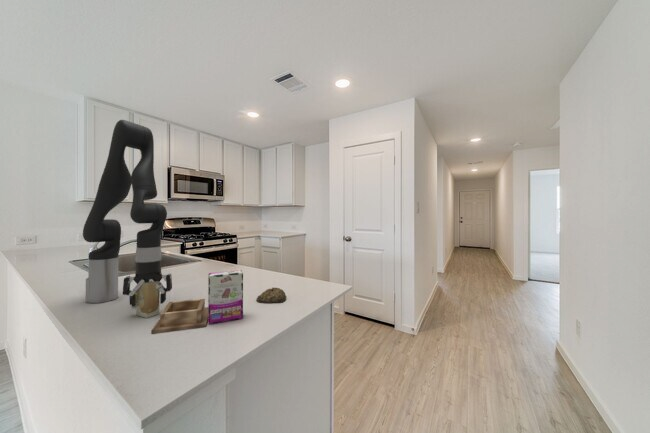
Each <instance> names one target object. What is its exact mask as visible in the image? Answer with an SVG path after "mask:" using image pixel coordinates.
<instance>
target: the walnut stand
mask: <svg viewBox="0 0 650 433" xmlns="http://www.w3.org/2000/svg"><path fill="white" fill-rule="evenodd" d="M205 299H206V298H197V299H188V300H187V299H186V300H176V301H175V300H174V301H169V302H168V303H167V305H166V306H165V307H164V308H163V309H162V311H161V313H159V319H158V320H157V322H156V323H155V325H154V326H153V328H152V329H151V332H150V333H151V334H152V335H153V334H154V335H155V334H161V333H171V332H177V331H178V332H179V331H185V330H192V329H193V330H194V329H200V328H207V324H208V306H205V304H206V302H205V301H206V300H205Z"/></svg>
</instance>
